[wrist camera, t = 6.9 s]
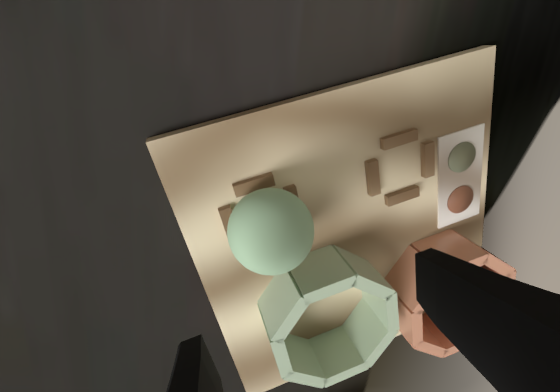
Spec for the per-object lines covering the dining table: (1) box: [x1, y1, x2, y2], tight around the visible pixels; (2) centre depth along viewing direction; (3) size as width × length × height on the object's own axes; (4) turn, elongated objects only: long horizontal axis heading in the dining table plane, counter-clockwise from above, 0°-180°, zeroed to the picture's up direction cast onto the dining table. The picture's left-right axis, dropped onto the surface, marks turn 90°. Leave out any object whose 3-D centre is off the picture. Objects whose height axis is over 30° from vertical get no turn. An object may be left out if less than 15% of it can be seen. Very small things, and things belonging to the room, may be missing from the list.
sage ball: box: [227, 188, 314, 276], centre depth 16 cm, size 4×4×4 cm
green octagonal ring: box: [257, 245, 400, 388], centre depth 20 cm, size 7×7×3 cm
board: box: [146, 45, 496, 392], centre depth 20 cm, size 18×18×1 cm
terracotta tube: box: [384, 229, 516, 358], centre depth 22 cm, size 7×7×3 cm
